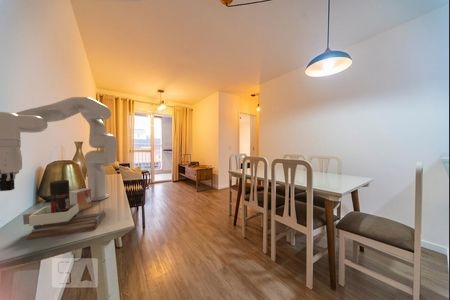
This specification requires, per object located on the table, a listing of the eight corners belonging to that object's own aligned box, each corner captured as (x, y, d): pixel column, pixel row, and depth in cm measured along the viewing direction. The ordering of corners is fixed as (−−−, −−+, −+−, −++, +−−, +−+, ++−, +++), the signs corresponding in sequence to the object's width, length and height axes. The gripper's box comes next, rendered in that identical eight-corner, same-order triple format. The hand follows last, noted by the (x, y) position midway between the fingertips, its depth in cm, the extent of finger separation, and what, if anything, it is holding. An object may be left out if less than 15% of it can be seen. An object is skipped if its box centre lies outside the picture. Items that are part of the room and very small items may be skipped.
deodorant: (56, 213, 75) (54, 180, 74) (72, 211, 77) (71, 179, 76) (48, 219, 70) (46, 183, 69) (66, 217, 72) (64, 182, 71)
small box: (77, 212, 89) (76, 192, 89) (69, 210, 90) (68, 191, 90) (92, 206, 97) (91, 188, 96) (84, 205, 98) (83, 187, 98)
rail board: (48, 222, 77) (48, 215, 77) (105, 215, 85) (104, 208, 85) (26, 239, 64) (25, 231, 64) (95, 229, 72) (95, 221, 72)
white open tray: (36, 221, 74) (35, 207, 74) (78, 215, 80) (78, 203, 79) (19, 232, 65) (18, 217, 64) (68, 225, 70) (67, 211, 70)
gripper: (7, 143, 71) (9, 186, 72) (-29, 144, 57) (-26, 196, 58) (31, 144, 74) (33, 185, 74) (2, 144, 60) (4, 194, 61)
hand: (7, 190), depth 66 cm, fingers closed
